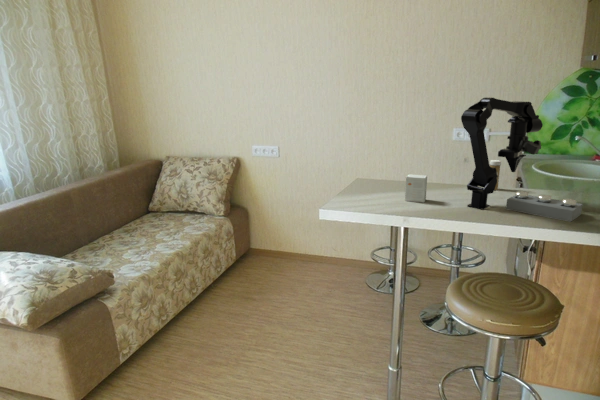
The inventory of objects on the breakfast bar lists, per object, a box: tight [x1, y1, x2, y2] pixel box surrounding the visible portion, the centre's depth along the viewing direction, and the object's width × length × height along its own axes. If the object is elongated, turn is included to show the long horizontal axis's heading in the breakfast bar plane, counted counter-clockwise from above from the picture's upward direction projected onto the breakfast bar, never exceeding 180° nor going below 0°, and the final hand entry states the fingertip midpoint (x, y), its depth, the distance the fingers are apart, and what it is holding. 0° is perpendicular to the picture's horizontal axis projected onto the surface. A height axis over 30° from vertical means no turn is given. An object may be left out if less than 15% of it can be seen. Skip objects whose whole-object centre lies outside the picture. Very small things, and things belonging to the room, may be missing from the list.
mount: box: [505, 194, 583, 222], centre depth 154 cm, size 12×22×4 cm, turn 43°
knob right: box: [561, 198, 577, 208], centre depth 147 cm, size 4×4×5 cm
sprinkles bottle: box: [489, 159, 502, 191], centre depth 187 cm, size 5×5×13 cm
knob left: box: [514, 190, 529, 200], centre depth 159 cm, size 4×4×5 cm
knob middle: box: [537, 194, 552, 203], centre depth 153 cm, size 4×4×5 cm
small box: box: [404, 173, 428, 203], centre depth 171 cm, size 8×6×10 cm
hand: (513, 172), depth 166 cm, fingers closed
